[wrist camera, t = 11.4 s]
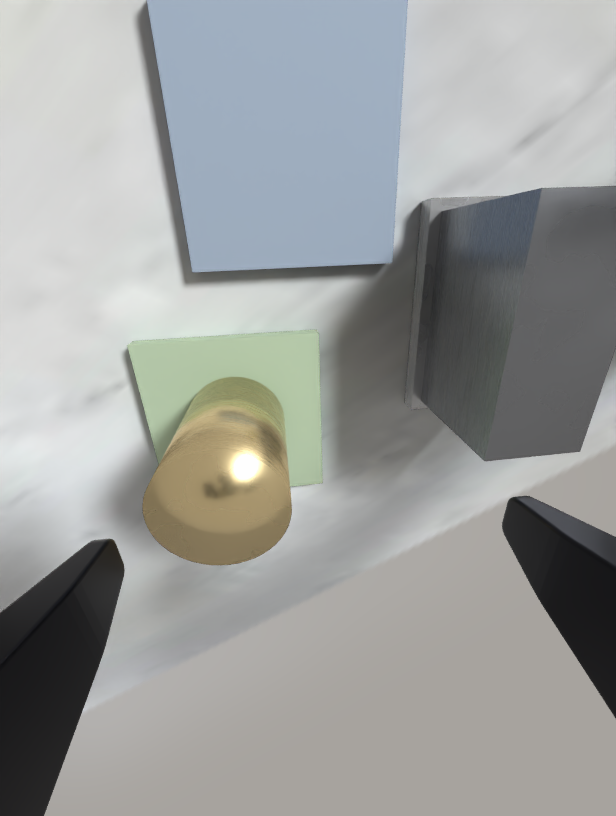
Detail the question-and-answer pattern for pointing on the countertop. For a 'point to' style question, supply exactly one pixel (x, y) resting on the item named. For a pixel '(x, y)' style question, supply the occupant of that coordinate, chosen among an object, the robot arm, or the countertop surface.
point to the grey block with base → (514, 317)
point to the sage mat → (236, 357)
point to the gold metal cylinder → (223, 477)
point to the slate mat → (283, 127)
